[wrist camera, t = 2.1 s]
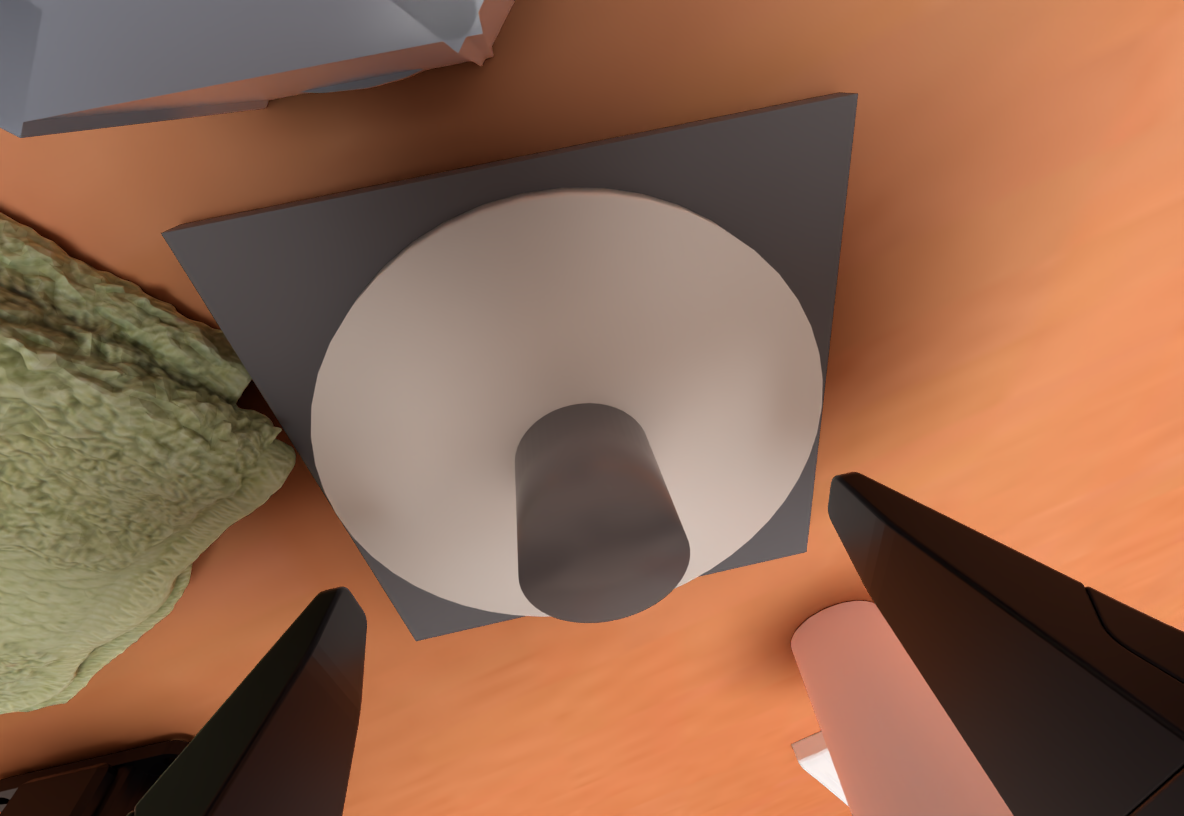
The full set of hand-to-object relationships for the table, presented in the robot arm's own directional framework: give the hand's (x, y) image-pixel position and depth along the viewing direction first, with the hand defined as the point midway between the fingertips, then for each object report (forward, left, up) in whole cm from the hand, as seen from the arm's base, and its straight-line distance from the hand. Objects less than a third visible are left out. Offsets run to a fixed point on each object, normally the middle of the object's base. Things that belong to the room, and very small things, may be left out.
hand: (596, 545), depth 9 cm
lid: (0, 0, -3) cm, 3 cm away
